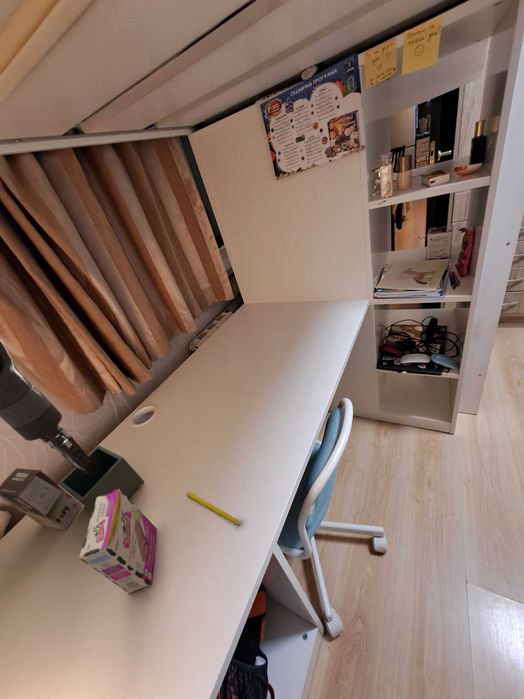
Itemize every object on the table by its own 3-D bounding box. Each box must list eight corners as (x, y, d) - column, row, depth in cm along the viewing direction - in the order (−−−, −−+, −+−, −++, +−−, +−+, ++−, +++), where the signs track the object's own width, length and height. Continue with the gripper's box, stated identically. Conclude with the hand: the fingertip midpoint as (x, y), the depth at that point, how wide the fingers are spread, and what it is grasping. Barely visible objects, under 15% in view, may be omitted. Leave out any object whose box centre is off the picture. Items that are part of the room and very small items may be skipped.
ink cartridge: (78, 471, 70) (57, 451, 66) (86, 463, 72) (65, 443, 67) (91, 475, 68) (69, 455, 63) (98, 467, 69) (78, 446, 65)
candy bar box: (153, 585, 56) (106, 548, 47) (129, 595, 55) (76, 560, 46) (158, 526, 65) (119, 487, 56) (137, 534, 65) (94, 496, 56)
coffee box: (83, 504, 76) (41, 469, 67) (65, 530, 71) (17, 496, 62) (59, 501, 79) (16, 467, 70) (40, 526, 74) (-9, 493, 65)
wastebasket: (83, 505, 75) (57, 483, 69) (119, 467, 83) (98, 445, 77) (108, 524, 69) (81, 501, 63) (144, 481, 76) (123, 457, 71)
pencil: (187, 496, 69) (185, 494, 69) (190, 492, 70) (188, 490, 69) (240, 528, 60) (239, 526, 59) (243, 523, 61) (241, 521, 60)
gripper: (-3, 418, 60) (51, 465, 69) (24, 435, 52) (81, 486, 62) (33, 393, 65) (79, 440, 74) (62, 405, 57) (109, 456, 66)
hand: (79, 460), depth 68 cm, fingers closed on ink cartridge, 5 cm apart
